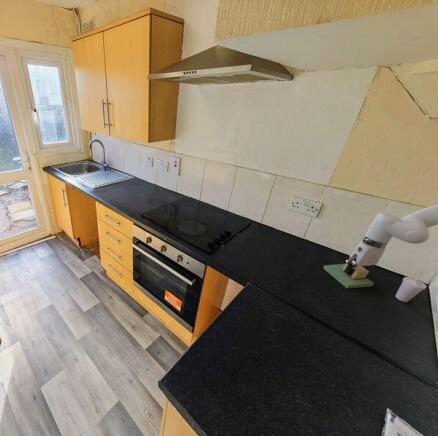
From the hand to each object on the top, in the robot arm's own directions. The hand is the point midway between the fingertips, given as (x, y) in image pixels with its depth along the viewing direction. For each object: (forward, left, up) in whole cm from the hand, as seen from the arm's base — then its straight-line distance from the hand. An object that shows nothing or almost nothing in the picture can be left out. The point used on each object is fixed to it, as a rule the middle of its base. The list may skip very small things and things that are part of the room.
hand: (353, 272), depth 104 cm
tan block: (0, 0, -1) cm, 1 cm away
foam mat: (+3, 0, -2) cm, 4 cm away
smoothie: (-9, +14, -2) cm, 17 cm away
